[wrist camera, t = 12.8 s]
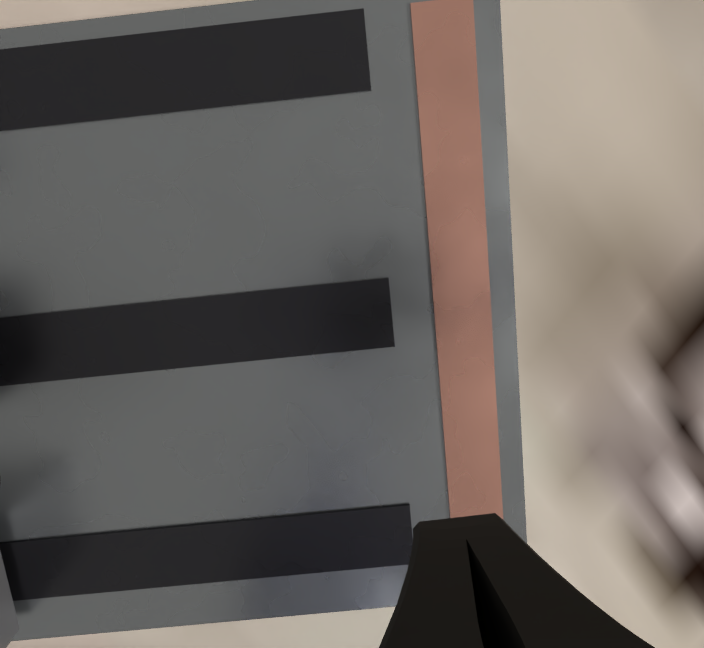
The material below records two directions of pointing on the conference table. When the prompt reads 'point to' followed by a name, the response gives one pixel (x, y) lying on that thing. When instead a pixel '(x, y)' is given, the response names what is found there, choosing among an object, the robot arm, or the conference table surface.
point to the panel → (250, 307)
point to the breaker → (6, 610)
